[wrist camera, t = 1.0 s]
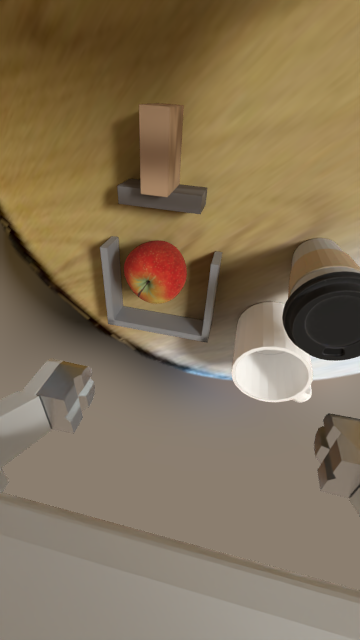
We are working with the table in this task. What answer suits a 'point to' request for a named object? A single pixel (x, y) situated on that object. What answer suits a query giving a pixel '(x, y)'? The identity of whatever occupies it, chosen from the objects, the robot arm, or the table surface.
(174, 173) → the tan grey t-shaped block
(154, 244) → the apple
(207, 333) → the tray
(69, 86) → the table surface
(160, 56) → the table surface
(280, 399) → the mug
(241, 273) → the table surface
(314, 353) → the coffee cup
